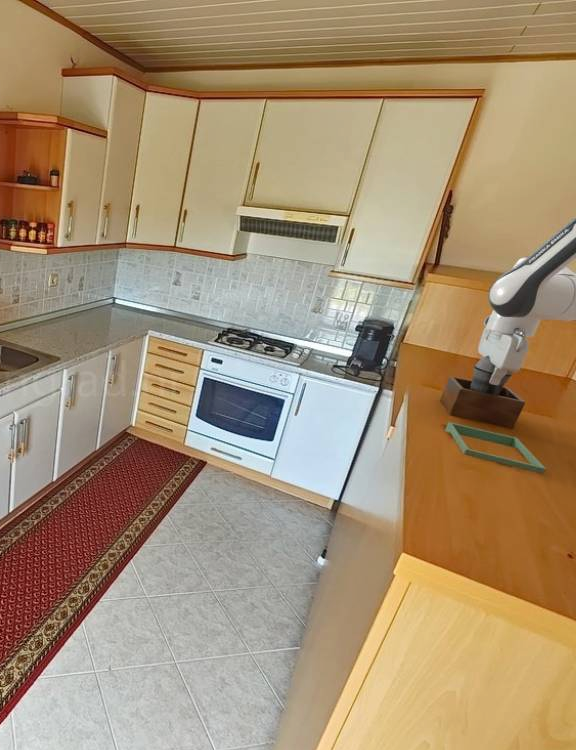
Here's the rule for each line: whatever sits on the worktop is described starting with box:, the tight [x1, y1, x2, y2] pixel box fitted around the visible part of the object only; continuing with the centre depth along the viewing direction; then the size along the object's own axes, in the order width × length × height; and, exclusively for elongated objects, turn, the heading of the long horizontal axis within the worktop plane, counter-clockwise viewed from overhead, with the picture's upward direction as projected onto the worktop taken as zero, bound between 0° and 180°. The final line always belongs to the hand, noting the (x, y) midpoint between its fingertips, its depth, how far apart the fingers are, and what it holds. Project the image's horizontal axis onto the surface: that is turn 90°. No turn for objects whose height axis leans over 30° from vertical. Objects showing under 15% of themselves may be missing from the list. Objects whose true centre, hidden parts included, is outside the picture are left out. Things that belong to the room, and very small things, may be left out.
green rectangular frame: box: [444, 421, 547, 475], centre depth 100 cm, size 12×16×2 cm
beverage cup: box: [469, 356, 513, 396], centre depth 120 cm, size 7×7×20 cm
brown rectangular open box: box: [439, 375, 526, 430], centre depth 123 cm, size 13×13×7 cm
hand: (488, 379), depth 121 cm, fingers closed on beverage cup, 6 cm apart
